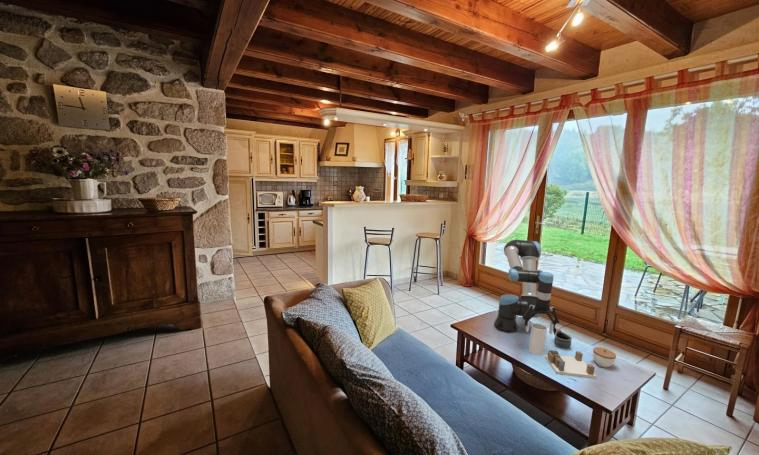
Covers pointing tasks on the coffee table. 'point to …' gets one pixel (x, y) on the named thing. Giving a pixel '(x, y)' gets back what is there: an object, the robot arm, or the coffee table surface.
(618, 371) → the coffee table surface
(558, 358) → the brown rectangular block
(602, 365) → the lidded jar
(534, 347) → the cup
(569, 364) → the seat board
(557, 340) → the teapot
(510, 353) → the coffee table surface
